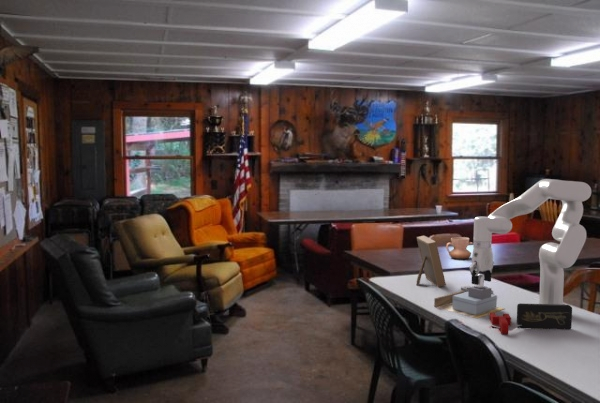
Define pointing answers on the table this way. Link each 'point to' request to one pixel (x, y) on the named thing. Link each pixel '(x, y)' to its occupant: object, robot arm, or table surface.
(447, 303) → the bay
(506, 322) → the red block assembly
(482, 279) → the handle peg
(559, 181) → the robot arm
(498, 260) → the table surface
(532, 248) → the table surface
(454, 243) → the ceramic jug
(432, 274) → the photo frame
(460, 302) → the square socket plate
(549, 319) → the nameplate
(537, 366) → the table surface
